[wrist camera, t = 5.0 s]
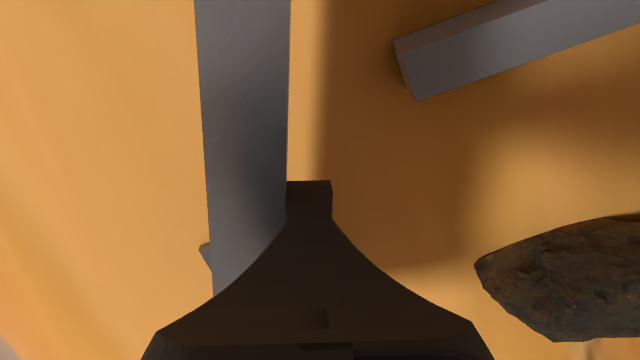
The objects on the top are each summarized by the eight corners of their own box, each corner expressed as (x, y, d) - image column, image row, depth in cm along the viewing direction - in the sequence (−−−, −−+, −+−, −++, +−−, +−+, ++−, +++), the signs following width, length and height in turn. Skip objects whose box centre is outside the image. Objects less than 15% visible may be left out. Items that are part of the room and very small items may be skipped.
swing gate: (293, 296, 21) (293, 462, 14) (236, 296, 20) (210, 463, 14) (319, -430, 11) (354, -915, 4) (209, -442, 11) (84, -960, 4)
